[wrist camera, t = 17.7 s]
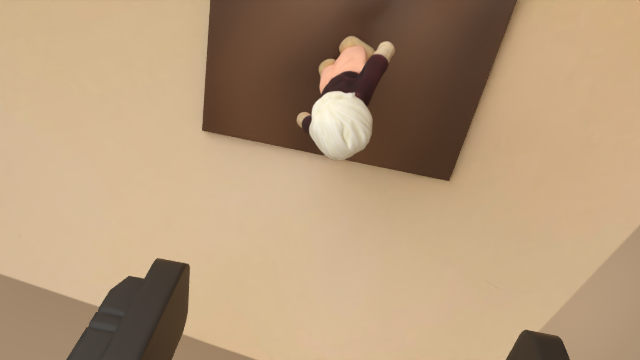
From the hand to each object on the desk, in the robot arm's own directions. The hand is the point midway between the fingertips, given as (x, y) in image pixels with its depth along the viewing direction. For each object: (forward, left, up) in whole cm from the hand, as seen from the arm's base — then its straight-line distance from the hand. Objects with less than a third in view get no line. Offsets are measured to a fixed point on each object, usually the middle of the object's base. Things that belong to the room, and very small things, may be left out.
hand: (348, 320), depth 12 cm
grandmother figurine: (0, +3, -27) cm, 27 cm away
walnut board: (+1, +3, -27) cm, 27 cm away
